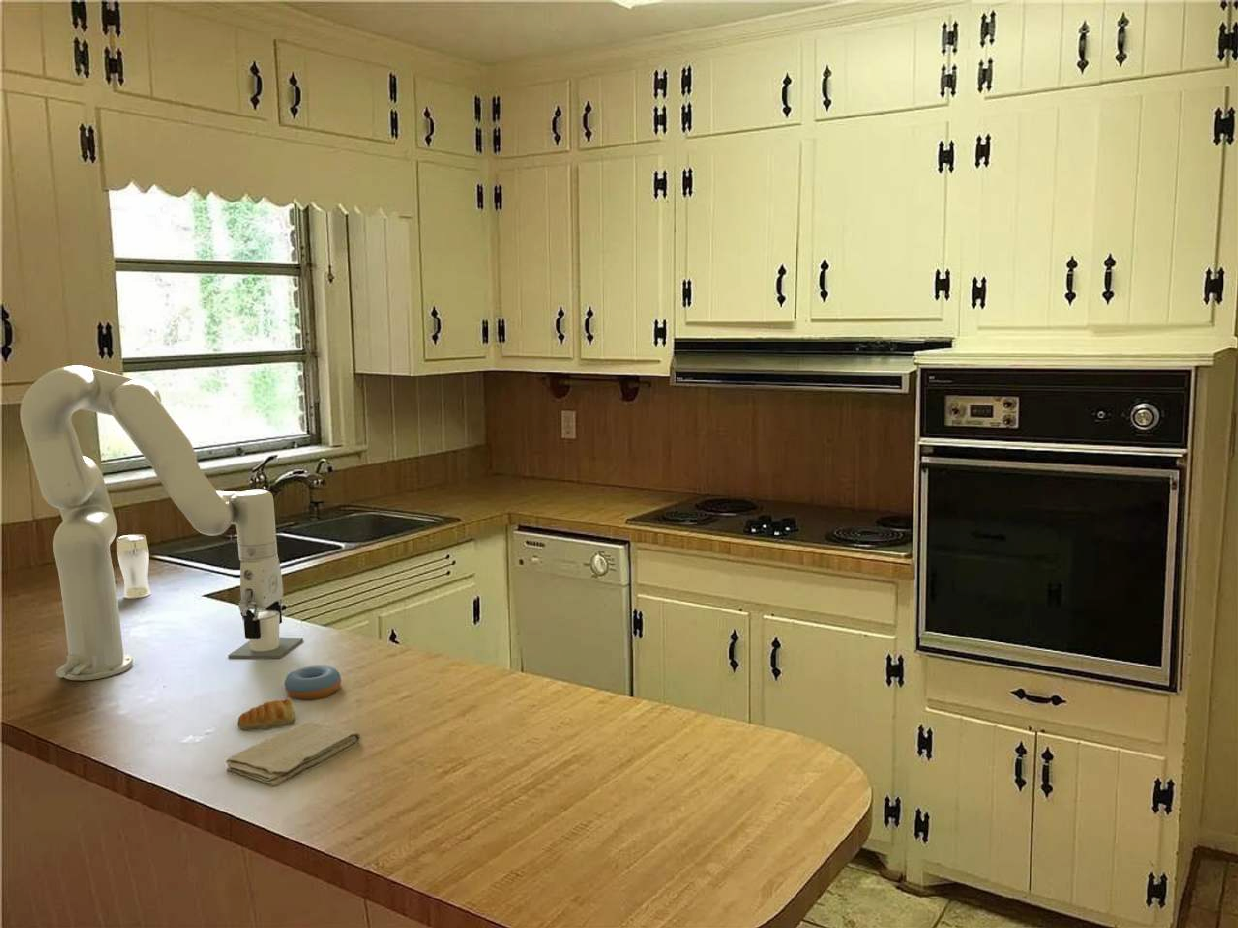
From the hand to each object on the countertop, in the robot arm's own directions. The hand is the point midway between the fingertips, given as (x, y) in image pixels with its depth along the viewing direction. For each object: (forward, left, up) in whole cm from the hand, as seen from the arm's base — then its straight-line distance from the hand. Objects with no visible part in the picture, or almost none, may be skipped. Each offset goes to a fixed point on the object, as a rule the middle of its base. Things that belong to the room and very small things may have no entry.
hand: (264, 630), depth 210 cm
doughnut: (-22, -20, -5) cm, 30 cm away
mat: (0, 0, -4) cm, 4 cm away
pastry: (-36, -18, -5) cm, 41 cm away
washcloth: (-49, -28, -5) cm, 57 cm away
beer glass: (+38, +52, -4) cm, 64 cm away
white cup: (0, 0, -4) cm, 4 cm away
